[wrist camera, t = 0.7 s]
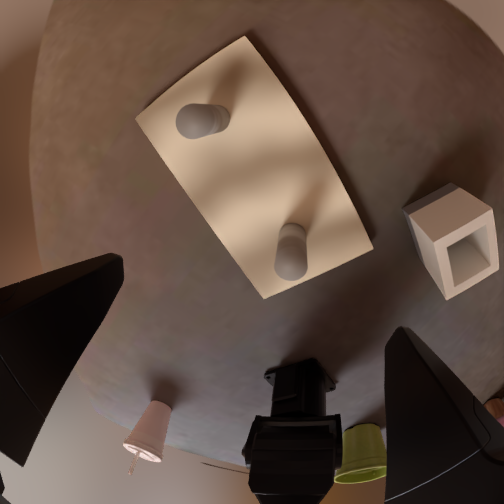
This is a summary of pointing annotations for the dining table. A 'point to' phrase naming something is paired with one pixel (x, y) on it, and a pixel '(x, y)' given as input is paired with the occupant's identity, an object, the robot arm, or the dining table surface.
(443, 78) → the dining table surface
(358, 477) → the plant pot
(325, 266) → the pin board
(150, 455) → the smoothie
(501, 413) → the cupcake
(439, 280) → the sleeve
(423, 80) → the dining table surface
